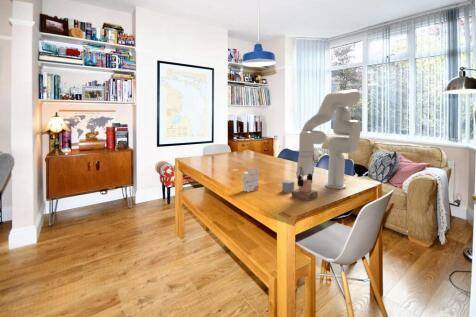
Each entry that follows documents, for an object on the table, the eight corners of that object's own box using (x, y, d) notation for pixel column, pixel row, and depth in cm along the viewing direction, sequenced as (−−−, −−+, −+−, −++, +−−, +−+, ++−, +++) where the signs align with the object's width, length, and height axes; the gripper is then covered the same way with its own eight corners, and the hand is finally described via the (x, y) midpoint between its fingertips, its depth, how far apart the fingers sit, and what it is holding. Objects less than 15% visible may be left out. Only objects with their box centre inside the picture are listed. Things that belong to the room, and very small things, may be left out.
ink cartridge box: (253, 188, 161) (253, 165, 159) (258, 190, 157) (258, 166, 155) (242, 190, 156) (242, 167, 153) (247, 192, 152) (247, 168, 150)
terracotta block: (303, 189, 145) (303, 178, 145) (311, 190, 142) (311, 180, 141) (298, 190, 142) (299, 180, 141) (306, 192, 139) (307, 182, 138)
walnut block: (302, 194, 149) (302, 187, 149) (317, 198, 142) (317, 191, 141) (291, 197, 143) (291, 190, 142) (306, 201, 135) (306, 194, 135)
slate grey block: (287, 189, 157) (287, 180, 156) (293, 191, 154) (294, 181, 153) (282, 191, 154) (282, 181, 153) (289, 193, 150) (289, 183, 149)
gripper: (308, 151, 147) (307, 180, 150) (291, 155, 135) (290, 186, 138) (320, 153, 142) (318, 182, 145) (303, 156, 130) (302, 188, 133)
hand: (305, 184), depth 141 cm, fingers open, 9 cm apart
